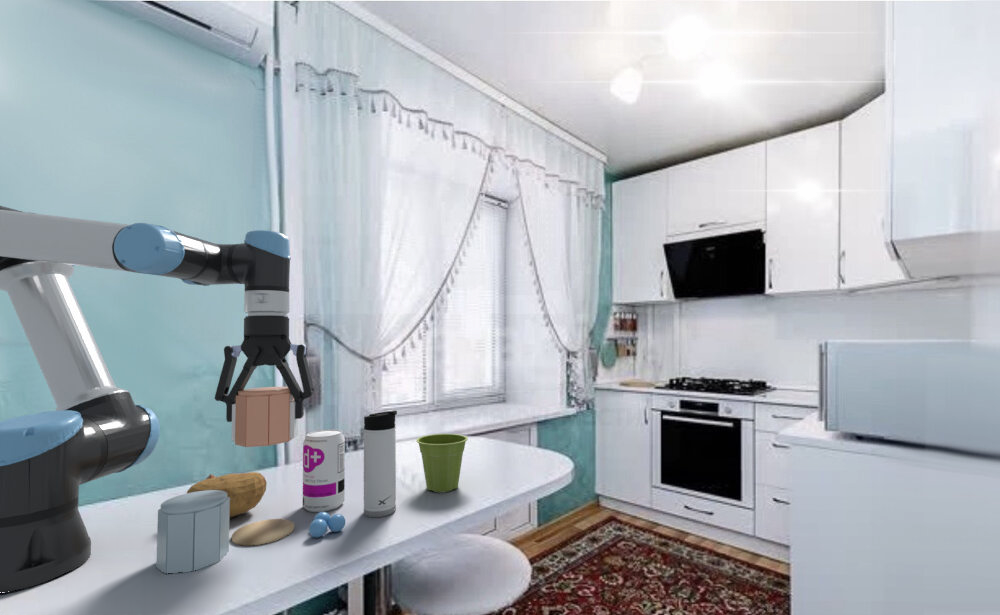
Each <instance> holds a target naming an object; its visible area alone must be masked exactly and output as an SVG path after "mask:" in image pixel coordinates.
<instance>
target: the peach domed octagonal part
mask: <svg viewBox="0 0 1000 615" xmlns="http://www.w3.org/2000/svg"><path fill="white" fill-rule="evenodd" d="M292 401H294V398H293V396H292V394H291V392H290V390H289V388H288V386H267V387H266V386H263V387H252V388H244V390H240V391H238V395H236V416H235V441H234V445H235V446H240V447H242V448H255V447H269V446H273V445H274V446H275V445H279V444H283V443H289V442H290V441H292V440H293V439H294V438H290V402H292Z"/></svg>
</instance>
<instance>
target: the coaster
mask: <svg viewBox="0 0 1000 615" xmlns="http://www.w3.org/2000/svg"><path fill="white" fill-rule="evenodd" d="M294 531H295V523H294V521H292V520H290V519H286V518H272V519H264V520H259V521H254V522H251V523H248V524H245V525H243V526H241V527H239V528H238V529H236V530H234V532H233V533H232V535H231V541H232V543H233V544H234V543H235V545H237V546H241V545H242V547H244V546H245V547H251V546H253V545H255V546H262V545H266V544H265V543H267V544H271V543H274V542H276V541H280V540H282V539H284V538H287V537H288V536H289V535H291V534H292V533H293V532H294ZM290 533H291V534H290ZM287 535H288V536H287ZM279 539H280V540H279ZM273 541H274V542H273ZM270 542H271V543H270ZM261 544H262V545H261Z"/></svg>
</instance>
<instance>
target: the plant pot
mask: <svg viewBox="0 0 1000 615" xmlns="http://www.w3.org/2000/svg"><path fill="white" fill-rule="evenodd" d="M468 439H469V438H468V437H467V436H466V435H463V434H456V433H435V434H428V435H423V436H420V437H418V438H417V439H416V442H417V443H418V447H419V451H420V453H421V459H422V466H423V472H424V480H425V486H426V489H427V490H428V491H433V492H435V493H448V492H452V491H453V490H456V489H457V488H458V487H459V482H460V477H461V476H460V475H461V468H462V462H463V456H464V452H465V447H466V442H467V441H468Z"/></svg>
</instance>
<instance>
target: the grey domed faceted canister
mask: <svg viewBox="0 0 1000 615" xmlns="http://www.w3.org/2000/svg"><path fill="white" fill-rule="evenodd" d="M227 495H228V494H227V492H225V491H221V490H206V491H197V492H192V493H187V492H186V493H183V494H180V495H176V496H174V497H173V496H172V497H171V498H169V499H166V500H164V501H163V502H162V503H160V508H158V510H157V525H156V526H157V528H156V530H157V532H156V535H157V536H156V563H155V564H156V565H155V567H157V568H156V569H158V570H159V571H160V570H161V572H162V573H163V572H164V573H163V574H165V575H169V574H168V573H173V574H179V573H178V572H183V573H192V572H196V571H199V570H201V569H203V568H206V567H209V566H212V565H214V564H217V563H219V562H221V560H222V559H223V558H225V556H226V555H225V554H226V553H227V554H228V553H229V551H230V518H229V511H230V498H229V497H227ZM195 570H196V571H195ZM191 571H192V572H191ZM166 573H167V574H166Z"/></svg>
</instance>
